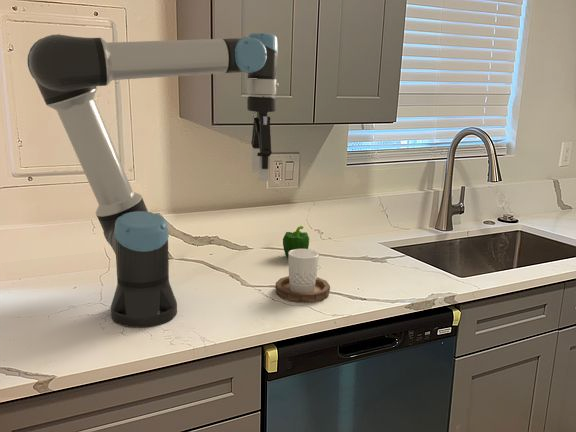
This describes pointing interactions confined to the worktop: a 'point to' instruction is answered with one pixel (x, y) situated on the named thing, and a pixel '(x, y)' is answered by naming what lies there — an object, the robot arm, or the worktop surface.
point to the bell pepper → (295, 240)
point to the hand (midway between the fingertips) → (260, 176)
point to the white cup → (302, 270)
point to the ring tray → (317, 295)
